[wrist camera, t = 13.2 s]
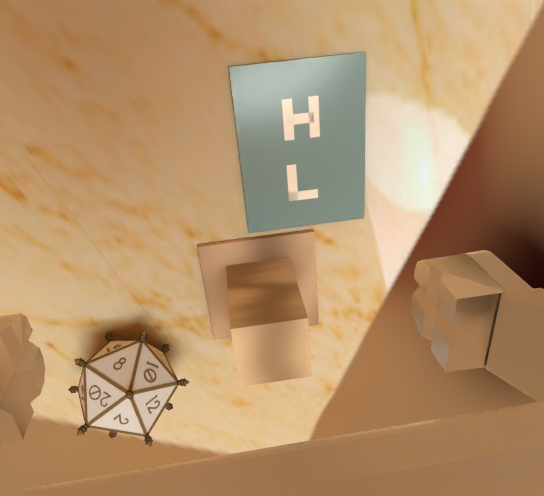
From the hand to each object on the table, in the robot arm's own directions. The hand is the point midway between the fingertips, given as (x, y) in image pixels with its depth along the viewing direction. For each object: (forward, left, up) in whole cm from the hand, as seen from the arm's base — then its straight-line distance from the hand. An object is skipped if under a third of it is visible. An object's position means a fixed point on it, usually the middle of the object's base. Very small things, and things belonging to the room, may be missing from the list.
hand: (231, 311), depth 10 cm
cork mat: (+2, -15, -24) cm, 29 cm away
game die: (-10, -20, -25) cm, 33 cm away
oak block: (+2, -15, -24) cm, 29 cm away
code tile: (+6, -4, -24) cm, 25 cm away
